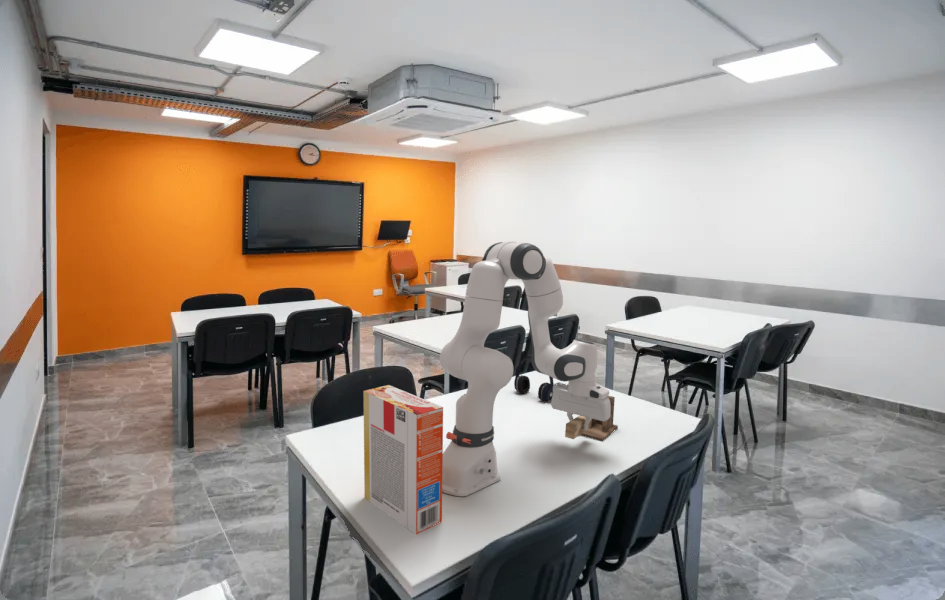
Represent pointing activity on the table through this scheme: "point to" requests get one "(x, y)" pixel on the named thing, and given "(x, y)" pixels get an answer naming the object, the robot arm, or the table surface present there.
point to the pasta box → (403, 456)
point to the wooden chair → (602, 425)
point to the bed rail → (576, 427)
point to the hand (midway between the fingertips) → (578, 427)
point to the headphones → (524, 385)
